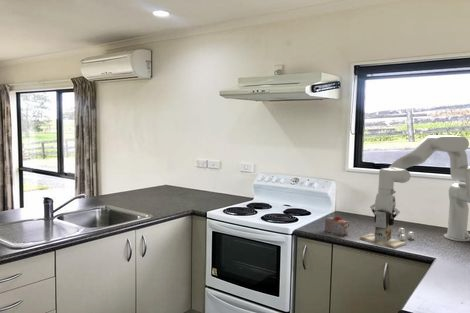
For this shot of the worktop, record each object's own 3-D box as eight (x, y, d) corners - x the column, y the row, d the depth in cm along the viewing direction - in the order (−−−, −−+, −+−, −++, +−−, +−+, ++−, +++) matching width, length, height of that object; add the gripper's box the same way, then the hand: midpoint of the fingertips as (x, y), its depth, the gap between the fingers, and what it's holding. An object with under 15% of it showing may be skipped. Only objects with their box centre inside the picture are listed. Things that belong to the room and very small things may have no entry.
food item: (350, 235, 222) (351, 218, 221) (342, 237, 217) (343, 220, 216) (330, 229, 232) (331, 213, 231) (322, 231, 227) (323, 215, 226)
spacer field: (417, 238, 219) (417, 231, 219) (403, 243, 209) (404, 236, 208) (389, 231, 232) (389, 224, 232) (374, 235, 222) (375, 228, 221)
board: (405, 244, 207) (405, 242, 207) (394, 248, 199) (394, 246, 199) (371, 235, 222) (371, 233, 222) (359, 238, 214) (360, 236, 214)
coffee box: (386, 242, 205) (388, 212, 204) (374, 240, 209) (376, 210, 207) (391, 238, 212) (393, 209, 211) (379, 236, 216) (381, 207, 215)
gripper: (404, 193, 204) (402, 226, 206) (374, 188, 217) (372, 219, 219) (397, 194, 199) (395, 228, 201) (367, 189, 212) (365, 221, 214)
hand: (383, 223), depth 210 cm, fingers open, 7 cm apart
